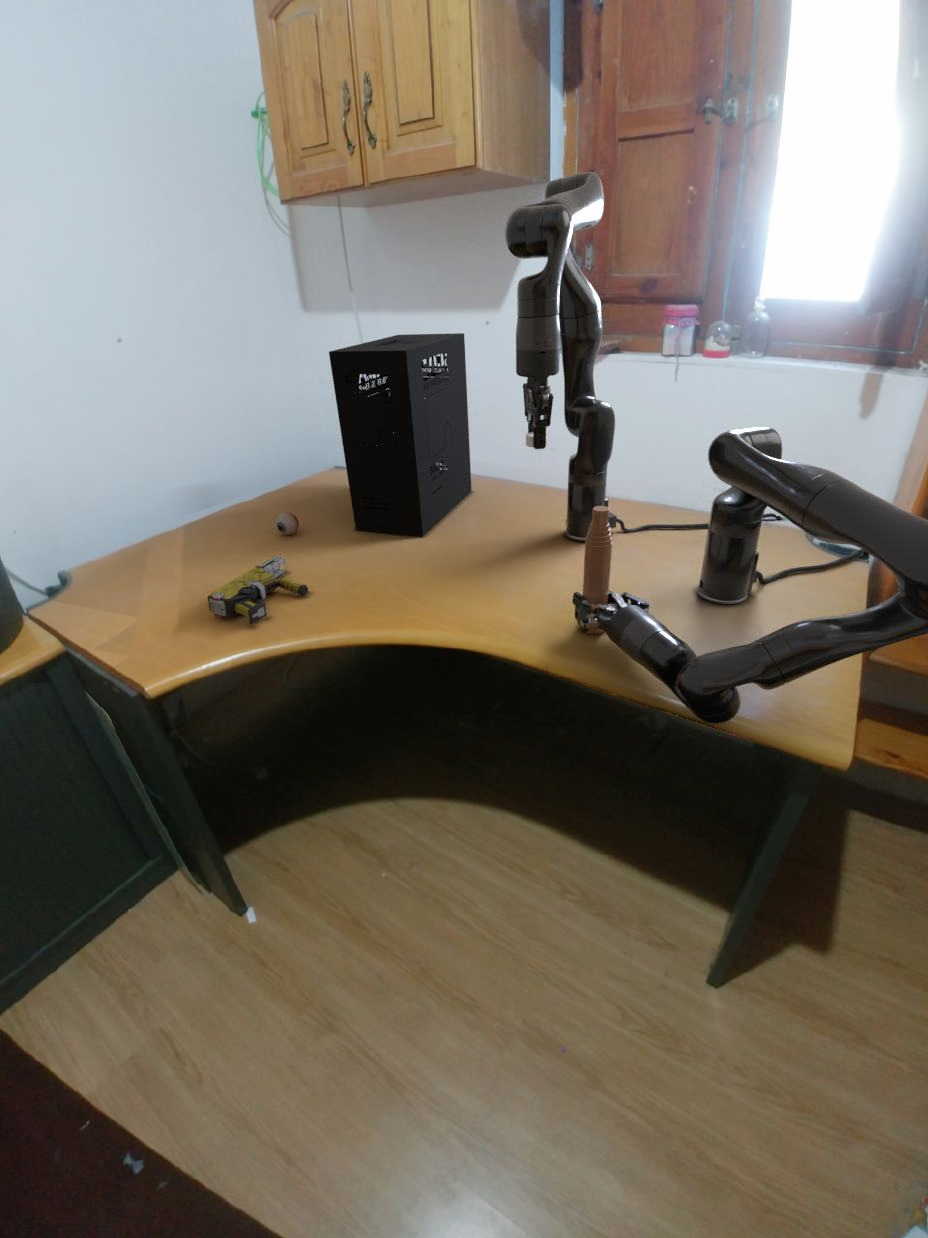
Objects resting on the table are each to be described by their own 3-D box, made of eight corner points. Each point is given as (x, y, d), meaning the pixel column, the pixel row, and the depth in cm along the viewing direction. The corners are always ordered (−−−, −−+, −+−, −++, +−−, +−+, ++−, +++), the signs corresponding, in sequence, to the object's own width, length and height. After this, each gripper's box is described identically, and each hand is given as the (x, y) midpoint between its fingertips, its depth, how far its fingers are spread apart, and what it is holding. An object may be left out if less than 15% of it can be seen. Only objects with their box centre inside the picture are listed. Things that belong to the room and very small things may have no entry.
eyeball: (273, 537, 164) (268, 516, 161) (287, 528, 169) (282, 508, 166) (291, 539, 161) (286, 518, 158) (305, 530, 166) (301, 510, 163)
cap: (539, 440, 115) (539, 430, 114) (551, 445, 112) (551, 434, 111) (521, 444, 113) (521, 433, 112) (533, 448, 110) (533, 437, 109)
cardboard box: (412, 487, 195) (398, 334, 173) (471, 491, 189) (464, 333, 166) (355, 529, 165) (328, 351, 143) (423, 536, 159) (406, 350, 136)
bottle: (610, 625, 115) (620, 506, 103) (598, 636, 112) (606, 515, 100) (588, 618, 118) (595, 502, 106) (576, 629, 115) (582, 510, 103)
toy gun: (328, 564, 138) (272, 553, 142) (265, 610, 118) (201, 595, 122) (329, 583, 141) (274, 571, 145) (267, 631, 121) (205, 616, 125)
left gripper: (508, 342, 110) (509, 438, 118) (524, 351, 98) (524, 457, 106) (549, 339, 110) (547, 435, 119) (570, 347, 98) (566, 453, 107)
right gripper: (602, 665, 100) (553, 618, 114) (674, 645, 104) (618, 602, 118) (605, 626, 96) (554, 583, 110) (679, 607, 100) (621, 568, 114)
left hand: (536, 444), depth 112 cm, fingers closed on cap, 4 cm apart
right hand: (587, 593), depth 114 cm, fingers closed on bottle, 4 cm apart
